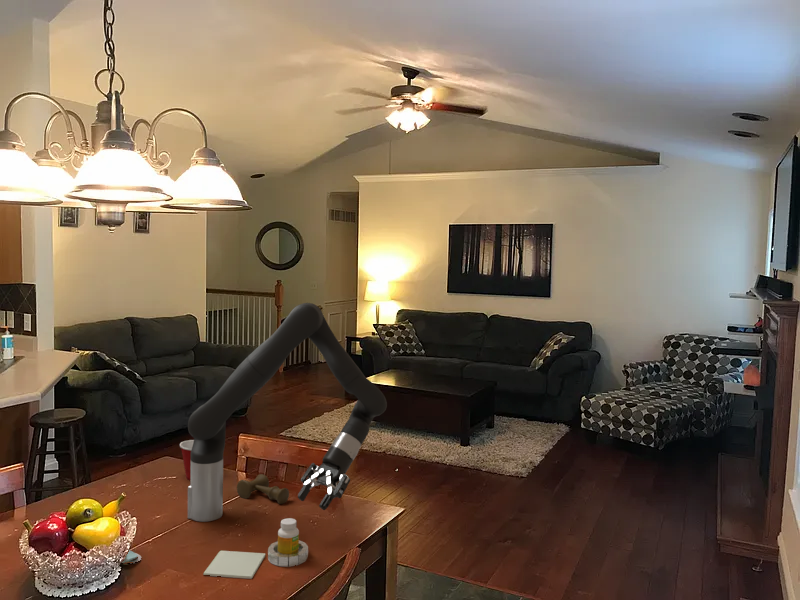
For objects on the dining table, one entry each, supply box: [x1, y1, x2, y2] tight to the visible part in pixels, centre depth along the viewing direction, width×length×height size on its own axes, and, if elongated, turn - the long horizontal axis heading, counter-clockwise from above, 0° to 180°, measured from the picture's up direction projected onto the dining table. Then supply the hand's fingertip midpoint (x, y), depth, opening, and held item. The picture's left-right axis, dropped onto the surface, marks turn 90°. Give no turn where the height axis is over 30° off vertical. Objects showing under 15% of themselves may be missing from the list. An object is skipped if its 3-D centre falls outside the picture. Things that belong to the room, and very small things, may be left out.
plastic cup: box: [179, 439, 194, 481], centre depth 224 cm, size 11×11×12 cm
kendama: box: [236, 473, 290, 505], centre depth 210 cm, size 6×10×20 cm
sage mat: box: [203, 550, 266, 580], centre depth 165 cm, size 12×12×1 cm
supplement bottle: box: [277, 517, 300, 555], centre depth 170 cm, size 5×5×10 cm
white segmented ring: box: [267, 539, 309, 568], centre depth 170 cm, size 10×10×2 cm
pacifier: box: [122, 549, 142, 564], centre depth 166 cm, size 7×6×6 cm
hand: (310, 504), depth 175 cm, fingers open, 8 cm apart
